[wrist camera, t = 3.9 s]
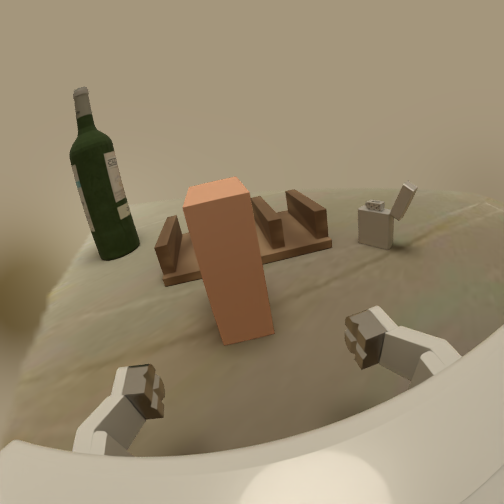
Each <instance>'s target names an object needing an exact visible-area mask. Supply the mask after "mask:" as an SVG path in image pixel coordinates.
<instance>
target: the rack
mask: <svg viewBox="0 0 504 504" xmlns="http://www.w3.org/2000/svg"><path fill="white" fill-rule="evenodd" d="M285 193H286V200H287V207H288V210H287V211H283V212H278V213H276V212H275V211H274V210H273V209H272V208H271V207H270V206H269V205H268V204H267V203H266V202H265V201H264V200H263V198H262V197H261V196H258V197H253V198H251V203H252V208H253V214H254V220H255V226H256V231H257V237H258V242H259V248H260V254H261V259H262V264H265V263H270V262H274V261H278V260H282V259H286V258H290V257H294V256H299V255H303V254H307V253H311V252H315V251H319V250H323V249H327V248H331V247H332V239H330V238H329V237H328V226H327V213H326V209H325V208H324V207H322V206H321V205H319V204H317V203H316V202H314V201H313V200H311V199H309V198H308V197H306V196H304V195H303V194H301V193H300V192H298V191H296V190H295V189H294V190H288V191H285ZM155 251H156V254H157V257H158V260H159V263H160V266H161V269H162V272H163V274H164V276H163V281H164V284H165V287H166V286H170V285H175V284H179V283H184V282H188V281H192V280H197V279H201V278H202V275H201V272H200V269H199V265H198V262H197V258H196V255H195V251H194V248H193V244H192V241H191V237H190V233H185V234H182V233H181V229H180V226H179V222H178V218H177V215H175V216H172V217H168V218H167V219H166V222H165V224H164V226H163V229H162V231H161V233H160V236H159V238H158V240H157V243H156V245H155Z"/></svg>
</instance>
